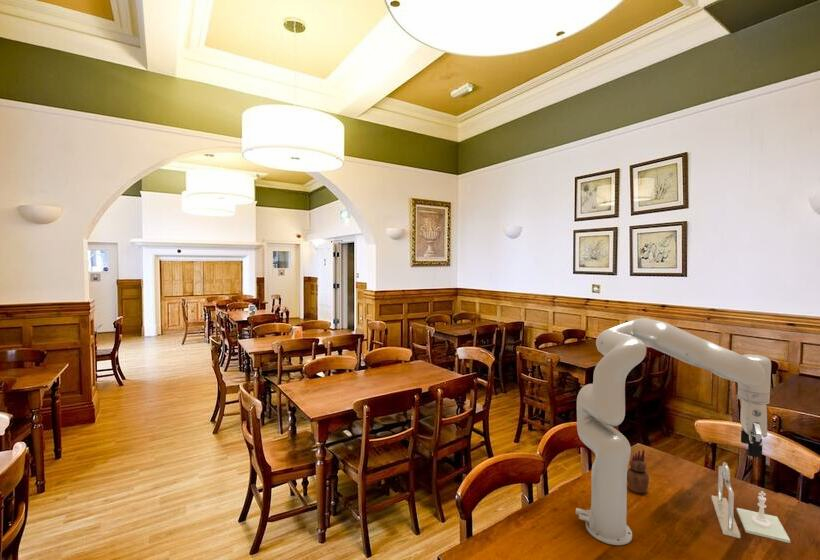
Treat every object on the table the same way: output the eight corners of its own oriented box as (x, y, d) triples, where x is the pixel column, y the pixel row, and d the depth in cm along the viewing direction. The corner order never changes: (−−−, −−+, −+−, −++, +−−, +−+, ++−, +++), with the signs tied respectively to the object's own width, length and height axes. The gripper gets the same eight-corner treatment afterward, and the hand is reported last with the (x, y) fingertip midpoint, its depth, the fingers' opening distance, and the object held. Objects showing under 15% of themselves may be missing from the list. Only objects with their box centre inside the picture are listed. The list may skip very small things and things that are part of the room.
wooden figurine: (648, 489, 143) (649, 448, 143) (648, 497, 138) (648, 455, 138) (627, 484, 147) (627, 443, 146) (626, 491, 142) (626, 450, 141)
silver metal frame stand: (723, 534, 120) (724, 479, 119) (711, 498, 137) (712, 450, 137) (740, 538, 118) (741, 482, 117) (726, 501, 136) (727, 452, 135)
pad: (745, 532, 121) (745, 529, 120) (736, 510, 131) (736, 507, 131) (790, 543, 116) (790, 540, 116) (777, 519, 126) (777, 516, 126)
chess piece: (776, 529, 120) (777, 496, 120) (757, 527, 121) (758, 495, 121) (765, 518, 125) (766, 487, 125) (746, 517, 126) (747, 486, 126)
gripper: (777, 406, 115) (774, 465, 116) (761, 389, 130) (759, 441, 131) (743, 401, 119) (741, 458, 120) (732, 385, 134) (730, 436, 135)
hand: (750, 449), depth 125 cm, fingers open, 9 cm apart
